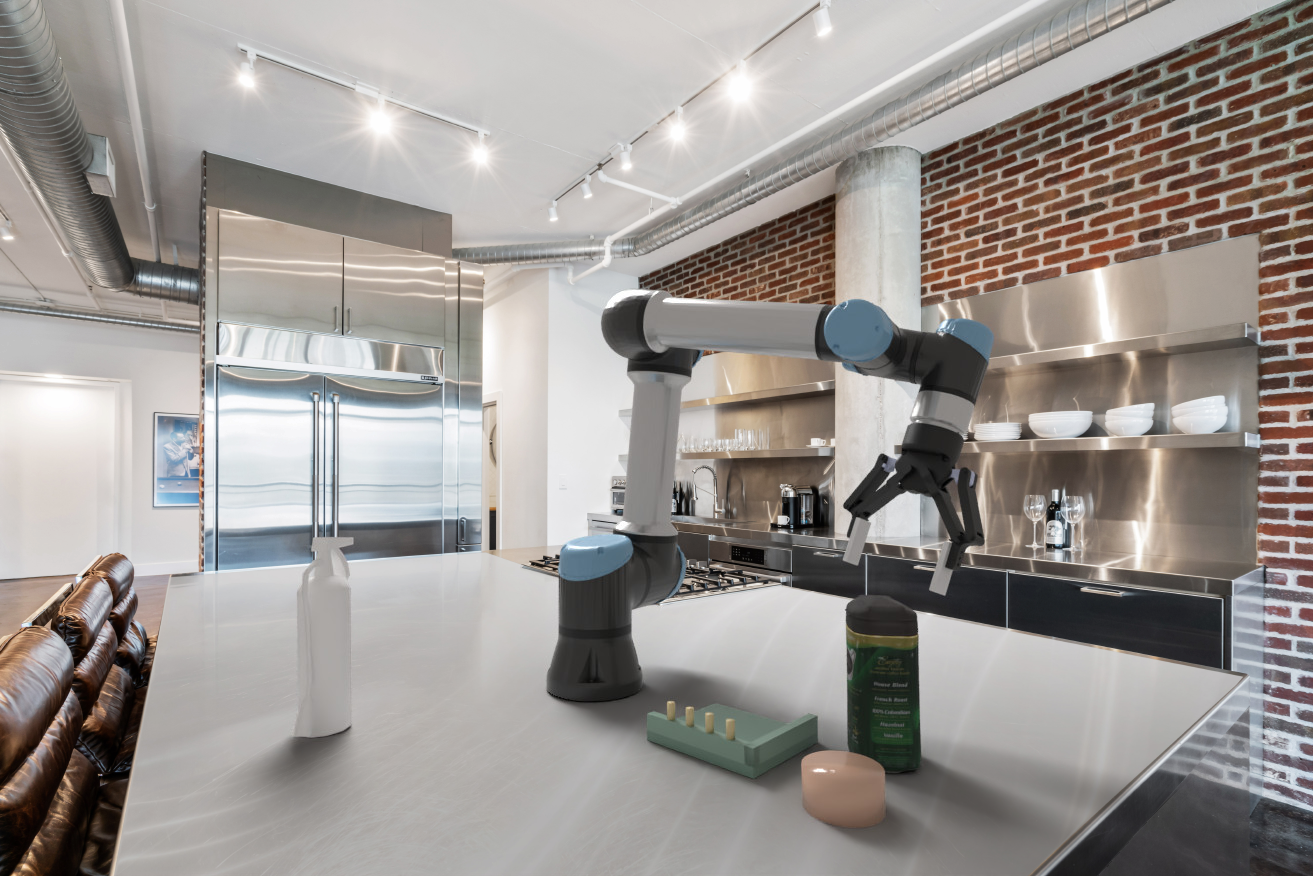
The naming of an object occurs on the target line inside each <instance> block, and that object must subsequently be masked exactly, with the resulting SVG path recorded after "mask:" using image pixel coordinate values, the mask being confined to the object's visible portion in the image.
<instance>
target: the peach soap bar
mask: <svg viewBox="0 0 1313 876" xmlns="http://www.w3.org/2000/svg"><path fill="white" fill-rule="evenodd" d="M800 767H801V768H800V770H801V805H802V807H803V809H804V810H805V812H806V813H807V814H809V815H810V816H811V817H813V818H815V819H816V820H818V821H821V822H822V823H826V824H828V825H831V826H836V827H841V828H849V829H850V828H851V829H853V828H854V829H855V828H856V829H858V828H868V827H872V826H876V825H878V824H880V823H881V822H882V820H883V821H884V820H885V818H886V816H887V809H886V808H887V805H886V772H885V770H884V768H883V767H882V766H881V765H880V764H879V763H878V762H876V761H875V760H873V759H871V758H869V757H866V756H863V755H860V754H856V753H852V752H850V751H846V750H820V751H814V752H811V753H809V754H807V755H805V756H804V757H803V758H802V759H801V765H800ZM885 815H886V816H885Z"/></svg>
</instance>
